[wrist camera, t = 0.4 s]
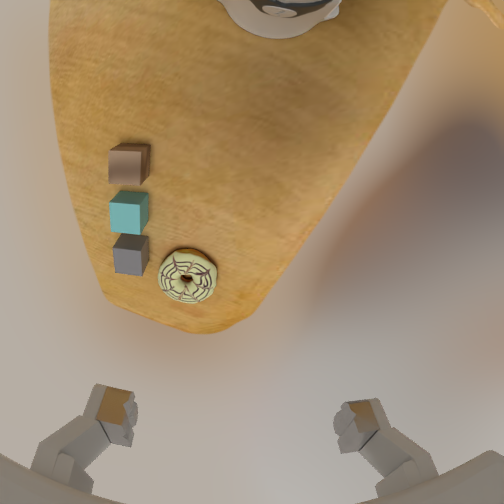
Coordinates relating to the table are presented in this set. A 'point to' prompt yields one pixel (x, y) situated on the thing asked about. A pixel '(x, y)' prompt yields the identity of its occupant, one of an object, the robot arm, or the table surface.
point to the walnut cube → (129, 164)
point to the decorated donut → (183, 265)
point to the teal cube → (129, 212)
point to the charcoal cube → (131, 254)
